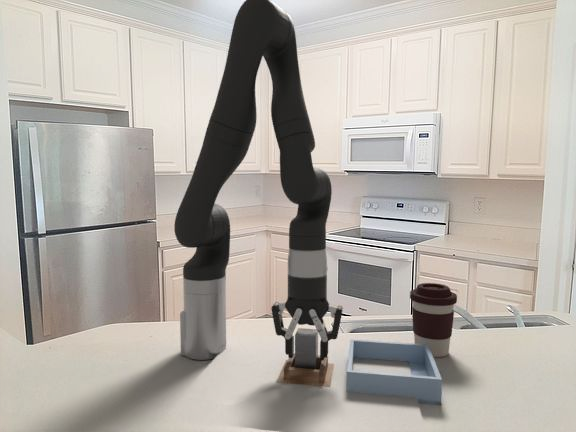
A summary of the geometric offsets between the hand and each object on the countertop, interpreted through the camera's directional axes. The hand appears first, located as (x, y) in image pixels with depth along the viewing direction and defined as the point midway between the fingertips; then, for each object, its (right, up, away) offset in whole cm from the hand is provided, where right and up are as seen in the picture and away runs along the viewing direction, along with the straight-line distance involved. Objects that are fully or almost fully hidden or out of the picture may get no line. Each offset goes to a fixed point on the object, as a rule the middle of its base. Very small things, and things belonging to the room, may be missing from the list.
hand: (306, 357), depth 81 cm
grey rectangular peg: (0, -3, 0) cm, 3 cm away
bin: (+16, -4, -1) cm, 17 cm away
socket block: (0, -4, 0) cm, 4 cm away
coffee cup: (+29, -3, +13) cm, 32 cm away
